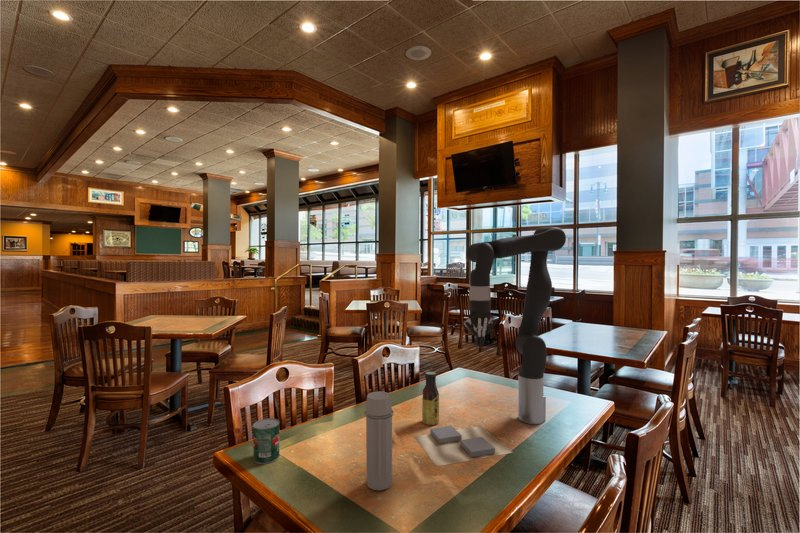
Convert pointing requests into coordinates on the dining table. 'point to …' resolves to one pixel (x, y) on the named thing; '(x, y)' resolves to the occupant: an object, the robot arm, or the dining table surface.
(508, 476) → the dining table surface
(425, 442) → the white flat sheet
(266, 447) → the canned tomato
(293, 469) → the dining table surface
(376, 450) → the water bottle
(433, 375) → the sauce bottle
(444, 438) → the slate tile
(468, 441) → the slate tile
